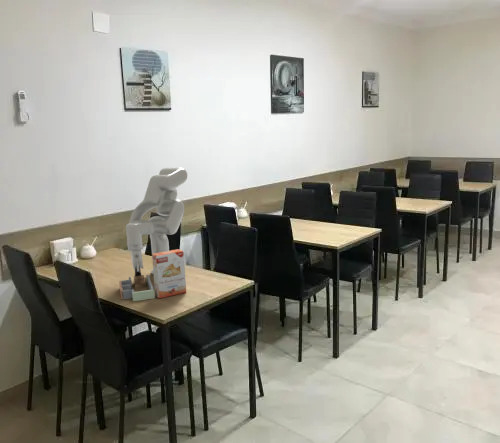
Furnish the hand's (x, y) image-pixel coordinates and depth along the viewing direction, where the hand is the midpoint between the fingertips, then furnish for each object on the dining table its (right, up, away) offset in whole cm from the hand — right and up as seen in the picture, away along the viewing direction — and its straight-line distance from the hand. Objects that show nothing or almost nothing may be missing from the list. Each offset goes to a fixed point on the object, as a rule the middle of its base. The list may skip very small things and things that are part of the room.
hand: (138, 280), depth 253 cm
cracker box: (+21, -4, -21) cm, 30 cm away
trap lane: (+2, -4, -15) cm, 15 cm away
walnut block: (+2, -2, -6) cm, 7 cm away
